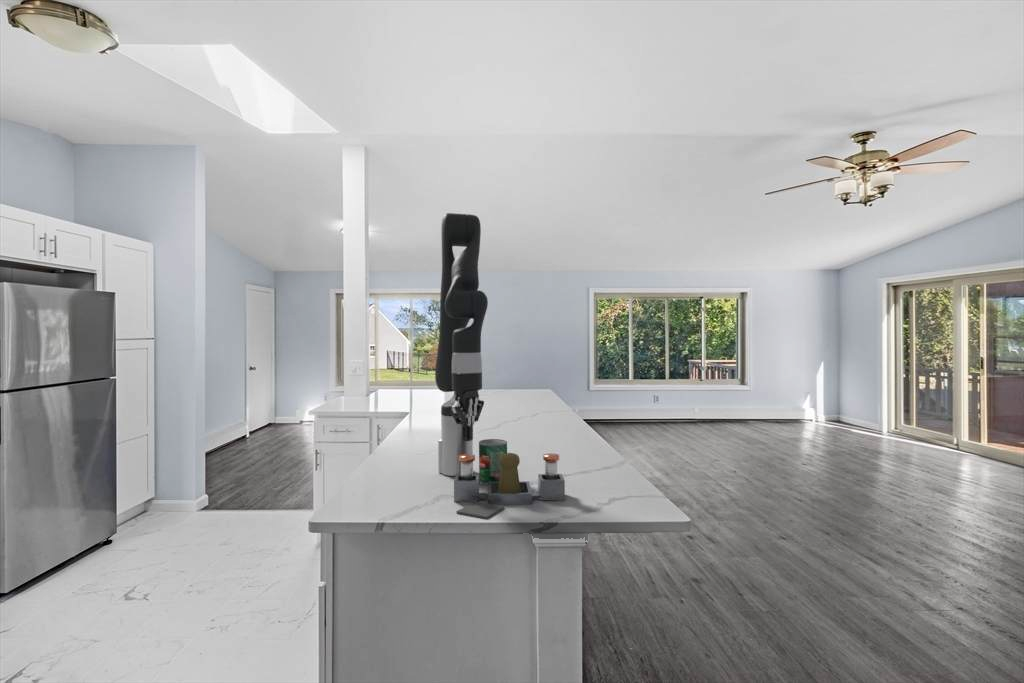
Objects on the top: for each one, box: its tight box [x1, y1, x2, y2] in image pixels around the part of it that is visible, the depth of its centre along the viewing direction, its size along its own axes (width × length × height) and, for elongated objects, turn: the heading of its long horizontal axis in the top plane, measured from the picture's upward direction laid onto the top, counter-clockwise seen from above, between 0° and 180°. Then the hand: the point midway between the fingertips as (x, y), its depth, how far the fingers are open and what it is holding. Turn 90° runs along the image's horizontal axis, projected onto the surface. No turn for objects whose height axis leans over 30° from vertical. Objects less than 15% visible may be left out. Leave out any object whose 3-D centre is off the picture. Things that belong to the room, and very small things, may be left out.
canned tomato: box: [478, 438, 508, 485], centre depth 149 cm, size 8×8×11 cm
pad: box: [456, 501, 505, 520], centre depth 124 cm, size 8×8×1 cm
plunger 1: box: [459, 454, 476, 480], centre depth 133 cm, size 4×4×7 cm
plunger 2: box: [542, 452, 560, 480], centre depth 134 cm, size 4×4×7 cm
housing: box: [453, 473, 566, 505], centre depth 134 cm, size 27×11×5 cm, turn 92°
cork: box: [497, 452, 522, 493], centre depth 134 cm, size 6×6×11 cm
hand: (467, 440), depth 133 cm, fingers closed
